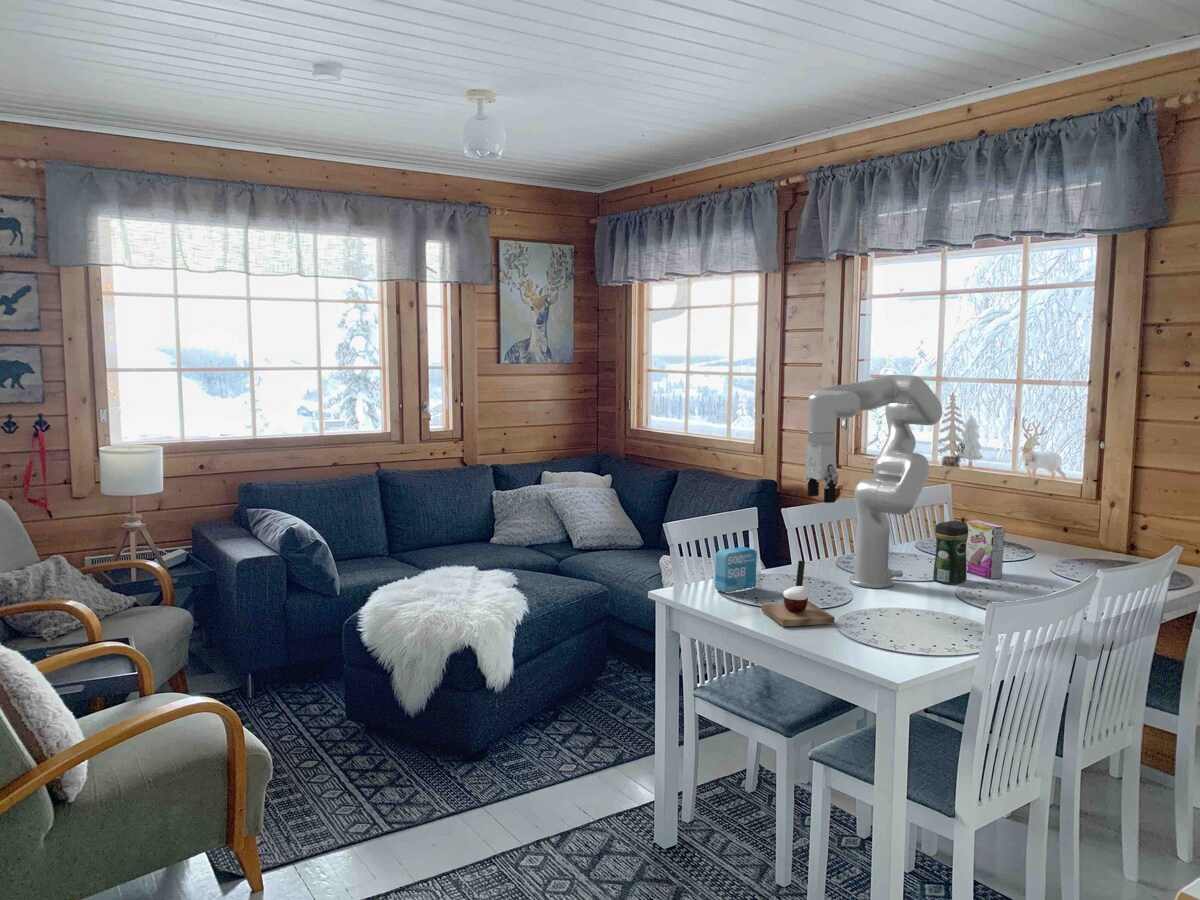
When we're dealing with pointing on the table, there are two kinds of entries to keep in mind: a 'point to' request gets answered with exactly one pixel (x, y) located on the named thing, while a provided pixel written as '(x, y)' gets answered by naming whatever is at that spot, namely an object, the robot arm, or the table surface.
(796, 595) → the cocoa
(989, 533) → the candy bar box
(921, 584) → the table surface
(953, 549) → the coffee jar
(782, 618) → the stand
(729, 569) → the data package
